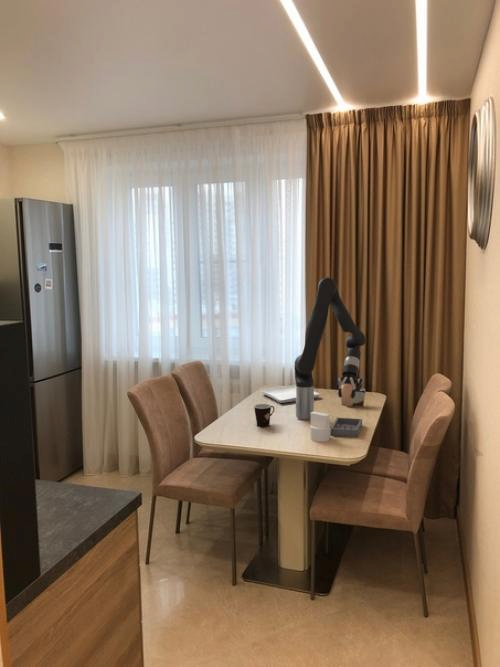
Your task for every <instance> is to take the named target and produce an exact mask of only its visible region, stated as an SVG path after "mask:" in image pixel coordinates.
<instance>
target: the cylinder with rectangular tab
mask: <svg viewBox="0 0 500 667" xmlns="http://www.w3.org/2000/svg"><path fill="white" fill-rule="evenodd" d="M310 414H311V419H310V426H309V427H310V430H309V431H310V440H311V441H312V442H313V441H314V442H320V443H321V442H322V443H323V442H328V441H329V440H330V439H331V437H330V436H331V427H330V414H329V413H324V412H318V411H314V412H311V413H310Z"/></svg>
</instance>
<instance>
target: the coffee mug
mask: <svg viewBox="0 0 500 667" xmlns="http://www.w3.org/2000/svg"><path fill="white" fill-rule="evenodd" d="M253 408H254V414H255V422H256V426H257V427H258V426H260V427H259V428H267V427H269V426H270V420H271V416H272V415H273V414H274V412H275V406H273V405H271V404H268V403H258V404H255V405H254V406H253ZM271 411H272V412H271Z"/></svg>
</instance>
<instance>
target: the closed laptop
mask: <svg viewBox="0 0 500 667" xmlns="http://www.w3.org/2000/svg"><path fill="white" fill-rule="evenodd" d="M260 392H261V393H262V394H263V395H265V396H267V397H269V398H271V399H273V400H274V401H276V402H278V403H281V404H287V403H294V402H295V403H296V384H293V385H285V386H276V387H271V388H266V389H261V390H260ZM320 395H321V393H319V392H317V391H315V390H314V399H316V398H317V397H319V396H320Z"/></svg>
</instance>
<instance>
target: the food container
mask: <svg viewBox="0 0 500 667" xmlns="http://www.w3.org/2000/svg"><path fill="white" fill-rule="evenodd" d="M356 387H357V386H355V388H356ZM366 394H367V391H366V389H365V388H362V387H361V389H360V391H356V393H355V397H354V398H353V405H352V406H346V408H364V406H365V398H366V397H365V396H366Z"/></svg>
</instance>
